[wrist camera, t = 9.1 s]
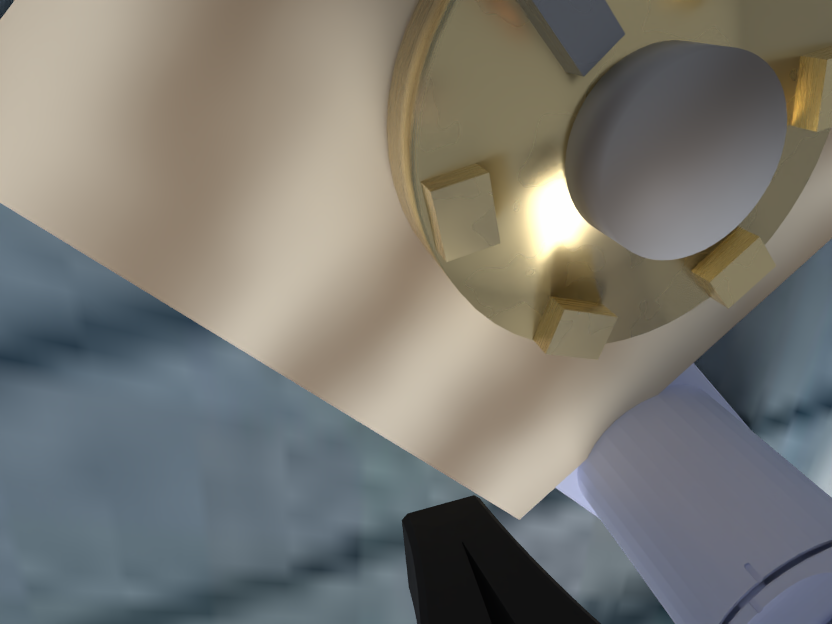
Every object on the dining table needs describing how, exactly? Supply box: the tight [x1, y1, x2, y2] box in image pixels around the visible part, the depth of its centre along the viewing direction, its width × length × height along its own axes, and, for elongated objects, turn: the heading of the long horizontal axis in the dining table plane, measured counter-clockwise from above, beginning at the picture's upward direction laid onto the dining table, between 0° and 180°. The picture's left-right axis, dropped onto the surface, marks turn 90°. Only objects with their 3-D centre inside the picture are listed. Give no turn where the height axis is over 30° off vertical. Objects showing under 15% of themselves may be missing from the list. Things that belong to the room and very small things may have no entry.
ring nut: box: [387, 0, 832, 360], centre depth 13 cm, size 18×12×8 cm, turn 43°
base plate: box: [0, 0, 832, 520], centre depth 16 cm, size 24×24×6 cm
